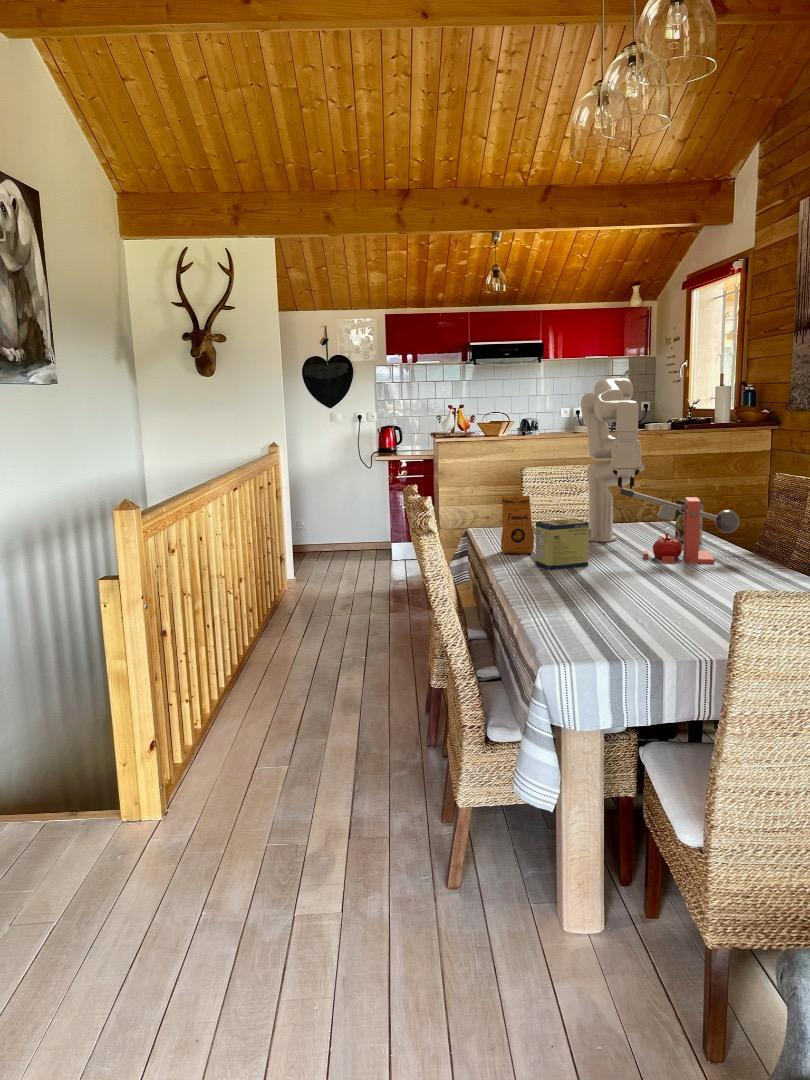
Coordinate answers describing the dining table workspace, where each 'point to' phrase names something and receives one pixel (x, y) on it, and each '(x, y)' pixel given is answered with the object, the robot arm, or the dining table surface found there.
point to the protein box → (562, 543)
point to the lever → (723, 520)
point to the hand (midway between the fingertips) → (625, 487)
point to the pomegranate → (667, 547)
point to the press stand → (691, 536)
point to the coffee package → (517, 525)
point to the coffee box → (681, 521)
